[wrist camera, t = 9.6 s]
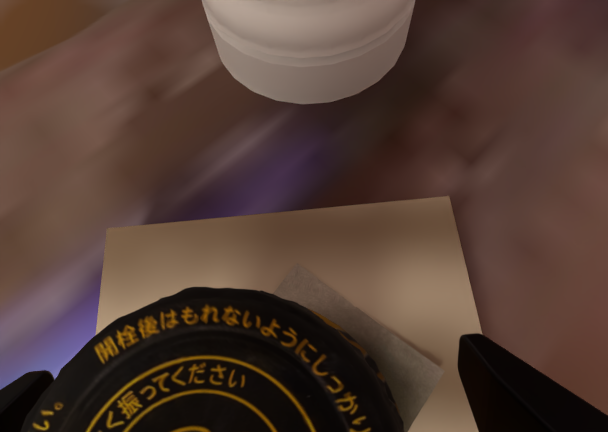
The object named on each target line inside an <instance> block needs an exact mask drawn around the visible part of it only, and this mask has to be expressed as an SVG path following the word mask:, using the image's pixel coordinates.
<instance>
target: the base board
mask: <svg viewBox="0 0 608 432" xmlns="http://www.w3.org/2000/svg"><path fill="white" fill-rule="evenodd" d="M297 263H298V264H299V265H301V266H302V267H303V268H305V269H306V270H307V271H309V272H310V273H311V274H313V275H314V276H315V277H317V278H318V279H319V280H320V281H322V282H323V283H325V284H326V285H327V286H329V287H330V288H332V289H333V290H334V291H336V292H337V293H338V294H339V295H341V296H342V297H344V298H345V299H346V300H348V301H349V302H350V303H352V304H353V306H355V307H357V308H359V309H360V310H361V311H363V312H364V313H365V314H367V315H368V316H369V317H371V318H372V319H373V320H375V321H376V322H377V323H379V324H380V325H382V326H383V327H384V328H386V329H387V330H389V331H390V332H391V333H393V334H394V335H395V336H397V337H398V338H400V339H401V340H402V341H404V342H405V343H406V344H408V345H409V346H411V347H412V348H413V349H415V350H416V351H417V352H419V353H420V354H422V355H423V356H424V357H426V358H427V359H429V360H430V361H432V362H433V363H434V364H436V365H437V366H439V367H440V368H441V369H443V370H444V371H445V372H444V373H443V375H442V377H441V378H440V380H439V381H438V383H437V385H436V386H435V388H434V390H433V392H432V393H431V395H430V396H429V398H428V399H427V401H426V403H425V404H424V406H423V407H422V409H421V410H420V412H419V414H418V416H417V417H416V419H415V420H414V422H413V423H412V425H411V427H410V429H409V430H408V432H479V431H478V428H477V425H476V422H475V420H474V417H473V414H472V411H471V408H470V405H469V402H468V399H467V396H466V393H465V391H464V388H463V385H462V382H461V379H460V376H459V372H458V350H459V339H460V336H461V335H463V334H473V333H480V334H482V331H481V326H480V322H479V318H478V314H477V310H476V306H475V302H474V297H473V293H472V289H471V285H470V281H469V277H468V272H467V268H466V264H465V260H464V256H463V252H462V247H461V243H460V239H459V235H458V231H457V227H456V223H455V218H454V214H453V210H452V206H451V202H450V198H449V196H444V197H433V198H423V199H412V200H402V201H391V202H381V203H370V204H360V205H349V206H339V207H328V208H318V209H307V210H297V211H286V212H276V213H265V214H254V215H244V216H233V217H223V218H212V219H202V220H191V221H181V222H170V223H160V224H149V225H139V226H128V227H118V228H107V234H106V243H105V253H104V262H103V271H102V281H101V290H100V300H99V309H98V318H97V328H96V335H97V334H98V333H99V332H100V331H101V330H103V329H104V328H105V327H106V326H108V325H109V324H110V323H112V322H113V321H114V320H116V319H117V318H119V317H122V316H125V315H127V314H129V313H132V312H134V311H136V310H138V309H140V308H142V307H144V306H147V305H149V304H151V303H153V302H156V301H158V300H159V299H160V298H163V297H167V296H171V295H174V294H176V293H178V292H180V291H181V290H183V289H185V288H190V287H211V288H234V289H250V290H258V291H261V290H262V291H265V292H267V293H271V294H273V293H274V292H275V290H276V289H277V288H278V286H279V285H280V284H281V282H282V281H283V280H284V279H285V277H286V276H287V275H288V274H289V272H290V271H291V270H292V269H293V267H294V266H295V265H296V264H297Z"/></svg>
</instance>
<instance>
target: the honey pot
mask: <svg viewBox="0 0 608 432" xmlns="http://www.w3.org/2000/svg"><path fill="white" fill-rule="evenodd" d="M202 3H203V6H204V9H205V13H206V16H207V19H208V22H209V25H210V28H211V31H212V34H213V37H214V40H215V43H216V47H217V50H218V53H219V56H220V59H221V61H222V63H223V64H224V65H225V67H226V68H227V69H228V71H229V72H230V73H231V75H232V76H233V77H234V78H235V79H236V80H238V81H239V82H240V83H242V84H243V85H245V86H246V87H247V88H249V89H250V90H251V91H253V92H255V93H258V94H261V95H263V96H266V97H268V98H271V99H273V100H276V101H283V102H290V103H297V104H314V103H327V102H333V101H336V100H339V99H343V98H346V97H349V96H352V95H356V94H358V93H359V92H361V91H363V90H365V89H366V88H368V87H370V86H371V85H373V84H375V83H377V82H378V81H379V80H380V79H381V78H382V77H383V76H384V75H385V74H386V73H387V72H388V71H389V70H390V69H391V68H392V67H393V66H394V65H395V64H396V62H397V60H398V58H399V56H400V54H401V52H402V50H403V48H404V46H405V43H406V38H407V34H408V30H409V26H410V21H411V17H412V13H413V9H414V4H415V0H202Z"/></svg>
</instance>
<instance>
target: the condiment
mask: <svg viewBox="0 0 608 432" xmlns="http://www.w3.org/2000/svg"><path fill="white" fill-rule="evenodd" d="M444 372H445V371H444V370H443V369H441V368H440V367H439V366H437V365H436V364H434V363H433V362H432V361H430V360H429V359H427V358H426V357H424V356H423V355H422V354H420V353H419V352H417V351H416V350H415V349H413V348H412V347H411V346H409V345H408V344H406V343H405V342H404V341H402V340H401V339H400V338H398V337H397V336H395V335H394V334H393V333H391V332H390V331H389V330H387V329H386V328H384V327H383V326H382V325H380V324H379V323H377V322H376V321H375V320H373V319H372V318H371V317H369V316H368V315H367V314H365V313H364V312H363V311H361V310H360V309H359V308H357V307H355V306H353V304H352V303H350V302H349V301H348V300H346V299H345V298H344V297H342V296H341V295H339V294H338V293H337V292H336V291H334V290H333V289H332V288H330V287H329V286H327V285H326V284H325V283H323V282H322V281H320V280H319V279H318V278H317V277H315V276H314V275H313V274H311V273H310V272H309V271H307V270H306V269H305V268H303V267H302V266H301V265H299V264H298V263H297V264H296V265H295V266H294V267H293V269H292V270H291V271H290V272H289V274H288V275H287V276H286V277H285V279H284V280H283V281H282V282H281V284H280V285H279V286H278V288H277V289H276V290H275V292H274V293H273V294H271V293H267V292H265V291H262V290H261V291H258V290H250V289H234V288H211V287H190V288H185V289H183V290H181V291H180V292H178V293H176V294H174V295H171V296H167V297H163V298H160V299H159V300H158V301H156V302H153V303H151V304H149V305H147V306H144V307H142V308H140V309H138V310H136V311H134V312H132V313H129V314H127V315H125V316H122V317H119V318H117V319H116V320H114V321H113V322H112V323H110V324H109V325H108V326H106V327H105V328H104V329H103V330H101V331H100V332H99V333H98V334H97V335H96V336H94V337H93V338H92V339H91V340H90V341H89V342H88V343H87V344H86V345H85V346H84V347H83V348H82V349H81V350H80V351H79V352H78V353H77V354H76V355H75V356H74V357H73V358H72V359H71V360H70V361H69V362H68V363H67V364H66V365H65V366H64V367H63V368H62V369H61V370H60V372H59V374H58V376H57V378H56V379H55V380H54V381H53V382H52V383H51V385H50V386H49V387H48V388H47V389H46V390H45V391H44V392H43V393H42V394H41V396H40V398H39V399H38V401H37V403H36V404H35V405H34V407H33V408H32V409H31V411H30V412H29V413H28V414H27V416H26V418H25V421H24V424H23V426H22V429H21V432H408V430H409V429H410V427H411V425H412V423H413V422H414V420H415V419H416V417H417V416H418V414H419V412H420V410H421V409H422V407H423V406H424V404H425V403H426V401H427V399H428V398H429V396H430V395H431V393H432V392H433V390H434V388H435V386H436V385H437V383H438V381H439V380H440V378H441V377H442V375H443V373H444Z"/></svg>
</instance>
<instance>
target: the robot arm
mask: <svg viewBox="0 0 608 432" xmlns="http://www.w3.org/2000/svg"><path fill="white" fill-rule="evenodd" d="M458 372H459V376H460V379H461V382H462V385H463V388H464V391H465V393H466V396H467V399H468V402H469V405H470V408H471V411H472V414H473V417H474V420H475V422H476V425H477V428H478V431H479V432H608V415H606V414H605V413H603V412H601V411H600V410H598V409H597V408H595V407H594V406H592V405H591V404H589V403H588V402H586V401H584V400H583V399H581V398H580V397H578V396H577V395H575V394H574V393H572V392H571V391H569V390H567V389H566V388H564V387H563V386H561V385H560V384H558V383H557V382H555V381H554V380H552V379H550V378H549V377H547V376H546V375H544V374H543V373H541V372H540V371H538V370H536V369H535V368H533V367H532V366H530V365H529V364H527V363H526V362H524V361H523V360H521V359H519V358H518V357H516V356H515V355H513V354H512V353H510V352H509V351H507V350H506V349H504V348H502V347H501V346H499V345H498V344H496V343H495V342H493V341H492V340H490V339H489V338H487V337H485V336H484V335H482V334H480V333H473V334H463V335H461V336H460V339H459V350H458ZM53 381H54V377H53V375H52V373H50V372H49V371H46V370H44V371H32V372H28V373H26V374H24V375H23V376H21V377H20V378H18V379H17V380H15V381H14V382H12V383H10V384H9V385H7V386H6V387H4V388H3V389H1V390H0V432H21V429H22V426H23V424H24V421H25V418H26V416H27V414H28V413H29V412H30V411H31V409H32V408H33V407H34V405H35V404H36V403H37V401H38V399H39V398H40V396H41V394H42V393H43V392H44V391H45V390H46V389H47V388H48V387H49V386H50V385H51V383H52V382H53Z"/></svg>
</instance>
